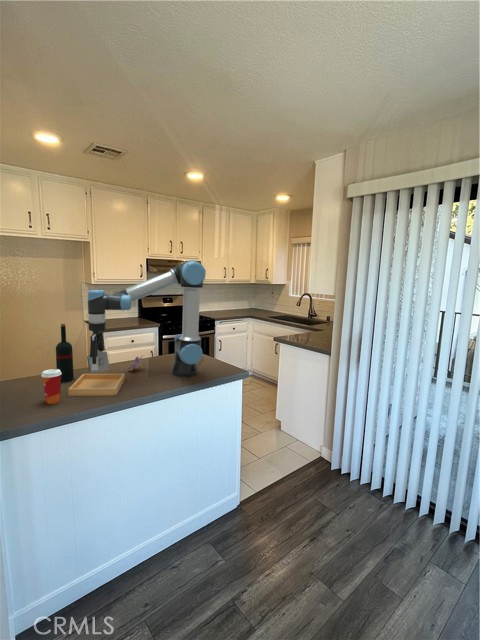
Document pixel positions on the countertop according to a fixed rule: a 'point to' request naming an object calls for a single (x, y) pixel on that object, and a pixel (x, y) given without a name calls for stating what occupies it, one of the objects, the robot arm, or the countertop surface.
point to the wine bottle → (64, 357)
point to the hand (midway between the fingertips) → (97, 366)
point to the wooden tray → (97, 385)
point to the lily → (136, 363)
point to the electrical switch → (99, 362)
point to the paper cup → (52, 385)
